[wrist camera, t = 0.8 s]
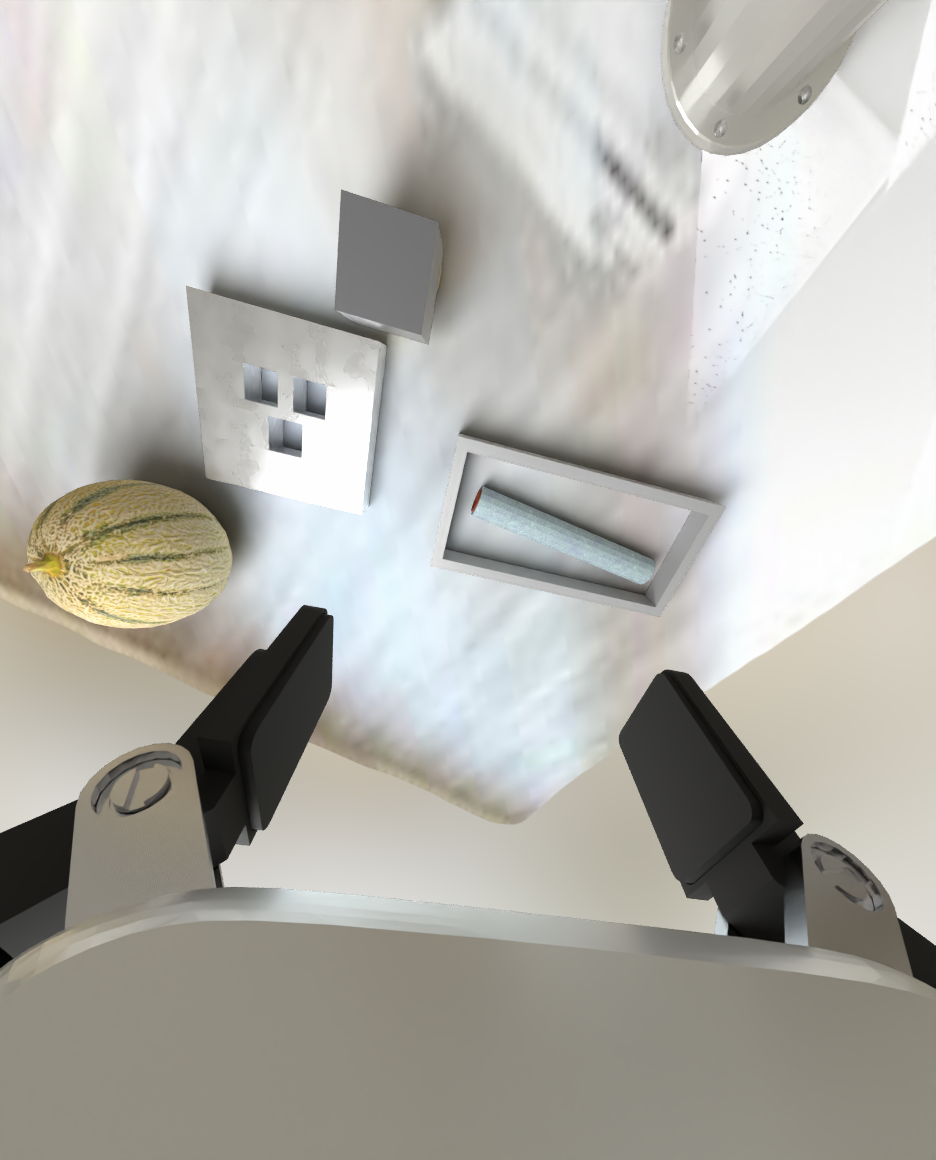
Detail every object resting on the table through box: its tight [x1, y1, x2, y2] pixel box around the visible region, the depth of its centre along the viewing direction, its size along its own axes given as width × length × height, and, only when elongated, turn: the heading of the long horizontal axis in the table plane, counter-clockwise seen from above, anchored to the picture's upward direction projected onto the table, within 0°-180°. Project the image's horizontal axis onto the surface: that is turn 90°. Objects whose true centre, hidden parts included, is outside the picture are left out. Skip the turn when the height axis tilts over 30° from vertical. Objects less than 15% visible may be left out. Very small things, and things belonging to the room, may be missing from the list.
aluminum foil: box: [471, 487, 655, 584], centre depth 40 cm, size 23×7×3 cm, turn 67°
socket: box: [186, 286, 387, 515], centre depth 34 cm, size 16×16×3 cm
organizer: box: [430, 433, 726, 617], centre depth 40 cm, size 14×29×3 cm, turn 76°
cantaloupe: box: [23, 479, 233, 628], centre depth 35 cm, size 15×15×15 cm
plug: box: [335, 190, 444, 345], centre depth 28 cm, size 6×6×8 cm
